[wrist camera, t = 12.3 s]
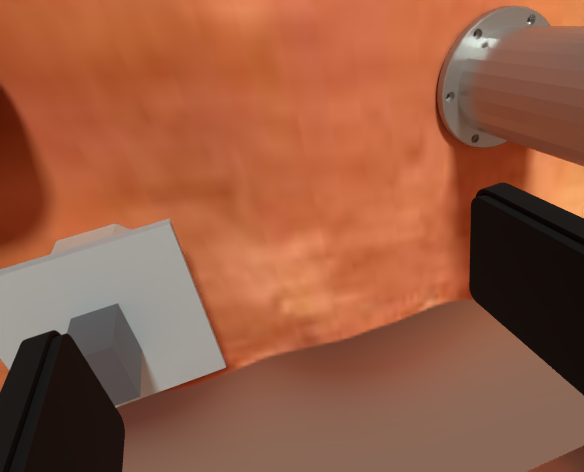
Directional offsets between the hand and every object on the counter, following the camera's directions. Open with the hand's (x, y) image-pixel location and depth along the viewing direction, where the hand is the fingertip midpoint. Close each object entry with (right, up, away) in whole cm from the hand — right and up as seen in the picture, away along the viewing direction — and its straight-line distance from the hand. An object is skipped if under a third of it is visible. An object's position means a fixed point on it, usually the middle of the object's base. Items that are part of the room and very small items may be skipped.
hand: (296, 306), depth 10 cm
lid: (-15, -6, +24) cm, 29 cm away
